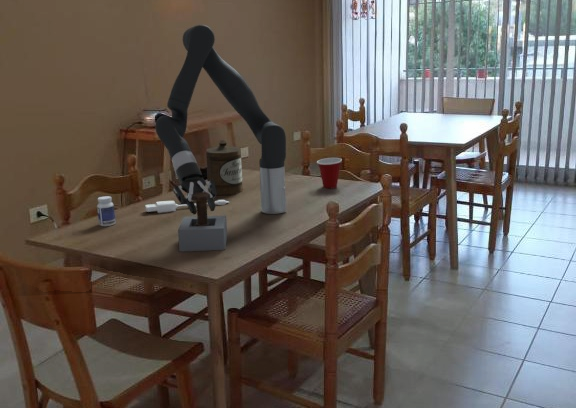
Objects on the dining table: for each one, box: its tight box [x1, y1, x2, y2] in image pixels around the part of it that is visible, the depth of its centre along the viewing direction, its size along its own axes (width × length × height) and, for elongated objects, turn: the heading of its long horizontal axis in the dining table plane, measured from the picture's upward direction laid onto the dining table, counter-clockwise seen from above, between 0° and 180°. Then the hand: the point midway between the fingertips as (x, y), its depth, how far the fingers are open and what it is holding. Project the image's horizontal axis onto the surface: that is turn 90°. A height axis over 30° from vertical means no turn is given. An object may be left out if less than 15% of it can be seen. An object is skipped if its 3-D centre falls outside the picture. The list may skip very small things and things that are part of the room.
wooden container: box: [205, 139, 243, 196], centre depth 256 cm, size 15×15×22 cm
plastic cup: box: [316, 157, 343, 189], centre depth 259 cm, size 11×11×12 cm
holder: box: [177, 214, 228, 252], centre depth 193 cm, size 14×14×7 cm
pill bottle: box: [96, 195, 117, 227], centre depth 215 cm, size 6×6×10 cm
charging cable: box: [144, 199, 230, 214], centre depth 234 cm, size 5×32×3 cm, turn 109°
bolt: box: [192, 191, 211, 226], centre depth 191 cm, size 6×5×15 cm
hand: (204, 211), depth 189 cm, fingers closed on bolt, 5 cm apart
